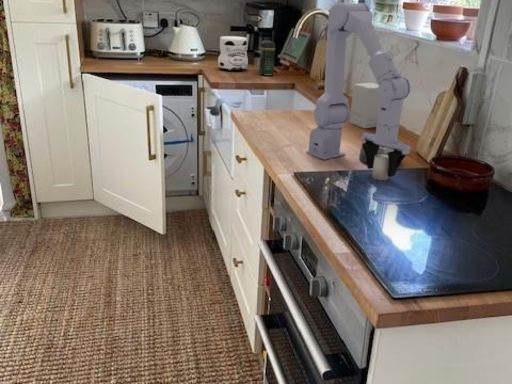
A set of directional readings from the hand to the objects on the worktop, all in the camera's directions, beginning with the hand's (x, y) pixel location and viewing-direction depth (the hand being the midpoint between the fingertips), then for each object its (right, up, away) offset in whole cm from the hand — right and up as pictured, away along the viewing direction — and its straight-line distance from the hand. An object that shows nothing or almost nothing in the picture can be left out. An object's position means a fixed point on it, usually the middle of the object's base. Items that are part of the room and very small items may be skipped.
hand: (380, 171), depth 135 cm
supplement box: (+7, +20, +52) cm, 56 cm away
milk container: (-48, +65, +151) cm, 171 cm away
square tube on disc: (+3, +4, +13) cm, 14 cm away
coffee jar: (-29, +60, +141) cm, 156 cm away
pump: (0, -2, +1) cm, 2 cm away
